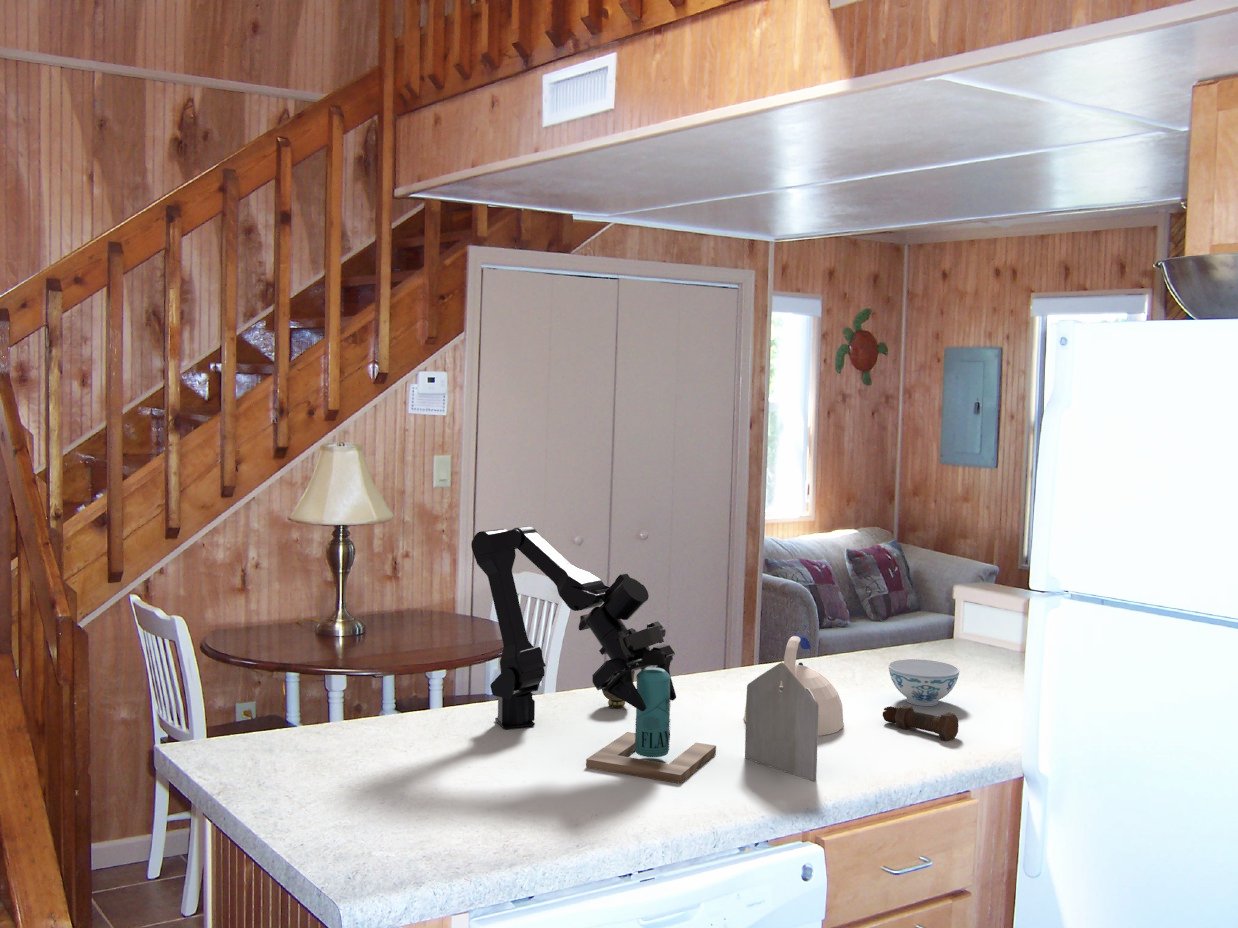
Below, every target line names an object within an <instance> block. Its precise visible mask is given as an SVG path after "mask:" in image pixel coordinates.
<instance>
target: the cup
mask: <svg viewBox="0 0 1238 928" xmlns="http://www.w3.org/2000/svg"><path fill="white" fill-rule="evenodd" d="M635 672H636V670H635V671H632V672H631V674H632V682H633V683H634V681H635ZM604 689H605V688H604ZM604 689H601V691H602V694H603V696H604V697H605V698H606V699H608V701H607V705H608V706H609V707H611V708H615V709H620V708H621V709H622V708H623V707H624V706H626V702H625V701H623V700H622V699H620V698H618V697H616V696H614V695H612V694H610V693H608V692H604V691H603V690H604Z"/></svg>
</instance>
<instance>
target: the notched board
mask: <svg viewBox="0 0 1238 928" xmlns="http://www.w3.org/2000/svg"><path fill="white" fill-rule="evenodd" d="M635 733H636V732H630V731H627V732H625V733H623V734H622V735H620V736H619V737H617V738H616V739H615V740H613V741H611V742H609V744H607V745H606V746H604V747H602V748H600V750H598V751H596V752H595V753H593V754H592V755H590V756H588V757H587V758H586V759H585V760H586V761H585V764H586V765H585V768H587V769H593V770H599V771H605V772H610V773H616V774H617V773H618V774H623V775H629V776H635V777H640V778H647V779H653V780H658V781H665V782H670V783H675V784H680V785H681V784H683V782H684V781H685V780H687V778H689V777H691V775H693V774H694V772H696V771H698V769H699V768H701V767H702V766H704V764H705V763H706V762H709V760H710V759H711V758H713V757H714V756H715V755H716V754H717V745H714V744H707V743H700V742H694V743H693V744H692V745H690V747H688V748H687V749H685V750H684V751H683V752H682V753H681V754H678V756H677V757H676V758H674V759H673V760H672V761H670V762H669V763H667V762H661V761H655V760H650V759H649V760H648V759H642V758H637V757H631V756H630V755H631V754H633V753H634V752H636V750H635V744H634V742H635Z"/></svg>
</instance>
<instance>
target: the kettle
mask: <svg viewBox="0 0 1238 928" xmlns="http://www.w3.org/2000/svg"><path fill="white" fill-rule="evenodd" d="M799 646H800V648H801V649H803V650H810V649H811V648H812V646H811V643H810V641H809V639H808V637H806V636H805V635H803V634H794V635H792V636H790V637H789V638H788V641H787V644H786V646H785V651H784V652H785V653H784V657H783V663H784V664H785V665H786V666H787V667H788V669H789V670H790V671H791V672H792V673H793V674H794V676H795V677H796V678H797V679H798V680H799V682H800V683H801V684H802V685H803V686H804V688H809V689H810V691H811V692H812V693H813V695H814V697H815V698H816V701H817V703H818V705H819V708H818V737H823V736H827V735H828V736H829V735H832V734H835V733H838V732H840V730H842V729H843V728H844V725H845V724H844V723H845V722H844V715H843V713H844V712H843V710H844V709H843V702H842V700H841V697H840V695H839V694H840V693H839V692H838V691H837V689H836V688H835V687H834V685H833V684H832V683H831V681H830V680H829V679H828V678H827V677H826V676H824V675H823V674H822V673H821V672H819V670H818V671H817V670H816V669H813V668H811V667H808V666H805V665H804V664H803V662H798V664H796V663H797V653H798V649H799ZM779 687H783V686H782V681H781V684H780V686H779ZM743 720H744V722H745V723H746V706H745V707H744V715H743Z"/></svg>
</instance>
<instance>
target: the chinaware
mask: <svg viewBox="0 0 1238 928" xmlns="http://www.w3.org/2000/svg"><path fill="white" fill-rule="evenodd" d="M888 672H889V676H890V678H891V681H892V683H893V685H894V686H895V688H896V690H898V692H899V693H901V694H902V695H903V696H904V697H906V702H907V703H909V704H911V705H915V706H920V707H921V706H923V707H933V706H937V705H938V704H939V701H940V700H941V699H944V698H945V697H946V696H948V694H950V693H951V691H952V690H953V689H954V687H955V685H956V684H957V681H958V679H959V675H960V668H958V667H957V666H955V665H954V664H951V663H947V662H943V661H939V660H933V659H930V660H929V659H919V658H904V659H896V660H893V661H891V662H889V663H888Z"/></svg>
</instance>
